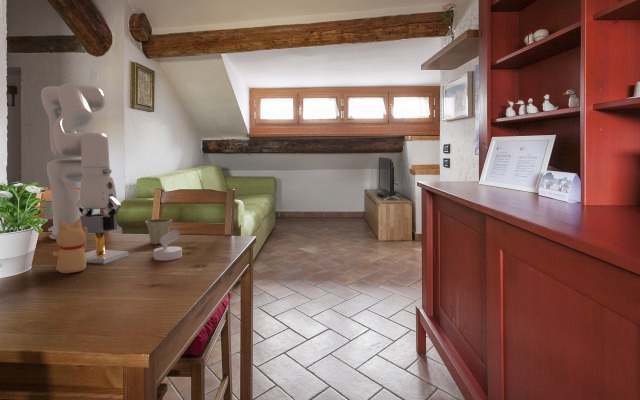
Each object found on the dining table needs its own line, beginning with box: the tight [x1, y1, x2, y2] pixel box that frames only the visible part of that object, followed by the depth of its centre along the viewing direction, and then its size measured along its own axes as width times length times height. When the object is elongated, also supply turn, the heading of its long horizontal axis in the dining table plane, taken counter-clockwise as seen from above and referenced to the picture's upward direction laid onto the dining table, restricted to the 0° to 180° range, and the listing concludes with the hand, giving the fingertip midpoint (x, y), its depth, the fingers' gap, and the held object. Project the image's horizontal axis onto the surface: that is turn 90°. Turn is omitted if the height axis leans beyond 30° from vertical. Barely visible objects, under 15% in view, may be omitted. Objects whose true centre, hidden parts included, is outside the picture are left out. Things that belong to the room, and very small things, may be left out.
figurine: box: [52, 218, 88, 274], centre depth 108 cm, size 9×10×15 cm
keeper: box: [85, 232, 129, 265], centre depth 121 cm, size 12×10×8 cm
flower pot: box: [144, 218, 173, 245], centre depth 145 cm, size 9×9×9 cm
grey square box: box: [80, 213, 118, 234], centre depth 120 cm, size 7×7×5 cm
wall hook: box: [153, 229, 183, 261], centre depth 123 cm, size 9×10×10 cm
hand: (99, 228), depth 120 cm, fingers closed on grey square box, 7 cm apart
